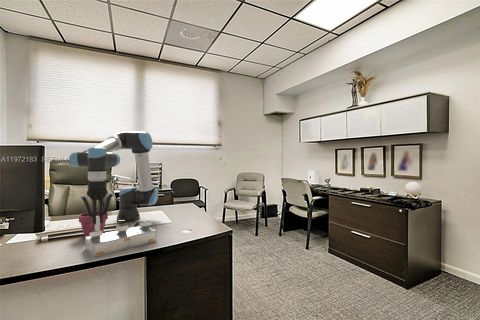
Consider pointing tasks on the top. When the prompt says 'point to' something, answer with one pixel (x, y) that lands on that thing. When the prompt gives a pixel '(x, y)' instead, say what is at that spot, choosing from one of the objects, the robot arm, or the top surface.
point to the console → (119, 240)
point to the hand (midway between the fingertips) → (97, 230)
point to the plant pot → (88, 225)
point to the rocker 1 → (95, 233)
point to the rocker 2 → (122, 228)
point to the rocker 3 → (145, 223)
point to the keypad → (136, 224)
